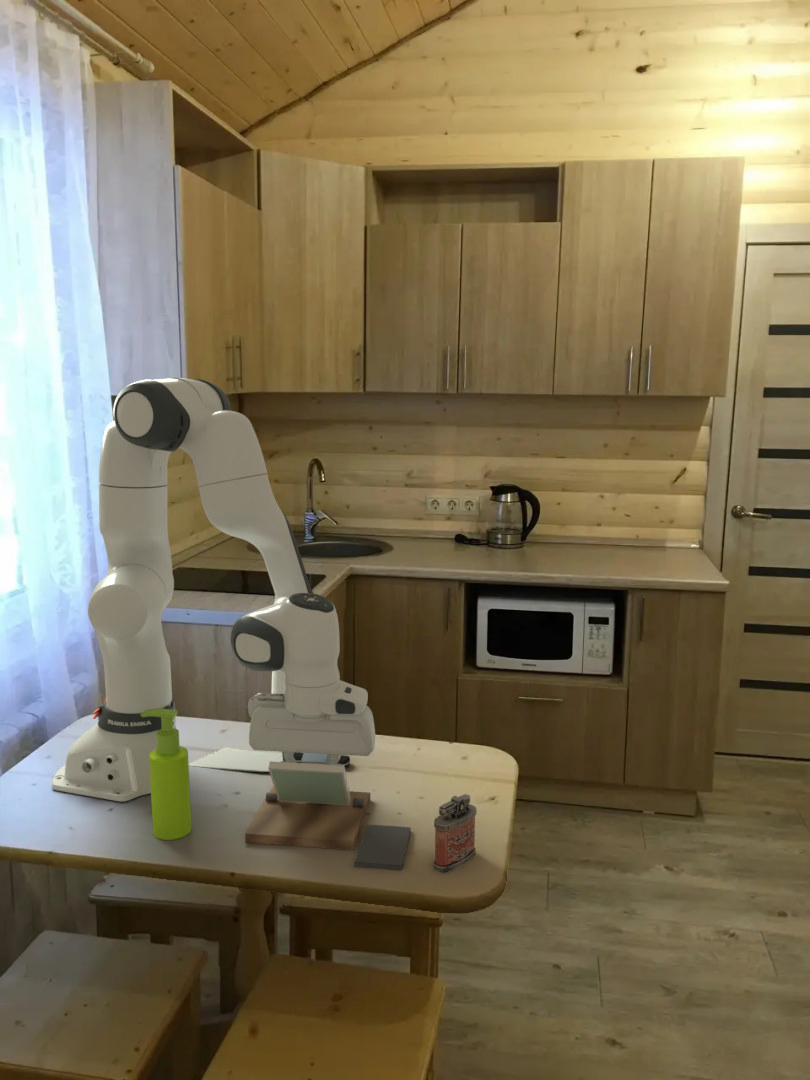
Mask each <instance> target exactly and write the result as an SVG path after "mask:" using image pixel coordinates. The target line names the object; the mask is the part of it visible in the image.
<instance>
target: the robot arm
mask: <svg viewBox="0 0 810 1080" xmlns="http://www.w3.org/2000/svg"><path fill="white" fill-rule="evenodd" d="M112 409H113V410H112V414H113V415H112V416H113V421H112V422H110V423H109V424H108V425H107V426H106V427H105V430H104V433H103V437H102V441H101V442H102V443H101V448H100V454H99V455H100V457H99V464H98V465H99V466H98V468H99V469H98V509H99V510H98V514H99V515H98V517H99V519H98V520H99V522H98V523H99V524H98V525H99V528H98V529H99V532H100V535H101V536H102V538H103V542H104V547H105V552H106V557H107V564H108V565H107V568H108V569H107V573H106V576H105V577H104V578H102V579H101V580H100V581H99V582H98V583H97V584H96V586H95V587H94V588H93V591H92V593H91V596H90V599H89V603H88V607H87V615H88V618H89V623H90V624H91V626H92V627H93V629H95V635H96V638H97V642H98V646H99V649H100V653H101V657H102V662H103V671H104V685H105V686H104V687H105V698H104V700H103V703H102V704H99V706H97V709H96V710H94V712H92V715H93V717H92V719H93V720H95V719H97V720H98V721H97V723H96V724H94V725H93V726H92V727H90V729H88V730H87V731H86V732H84V733H83V734H82V735H81V736H80V737H78V738H77V739H76V740H75V741H73V743H72V744H71V746H70V747H69V750H68V752H67V753H66V757H65V764H64V765H63V766H62V767H60V768H59V770H58V771H57V772H56V773H55V774H54V776H53V778H52V781H51V787H52V790H54V791H59V792H65V793H70V794H76V795H82V796H86V797H93V798H98V799H103V800H104V799H105V800H110V801H114V802H122V803H123V802H127V801H131V800H133V799H135V798H138V797H141V796H144V795H149V794H150V795H151V782H150V763H149V754H150V753H151V752H152V751H153V750H155V749H157V736H156V734H157V732H158V731H159V730H160V729H162V723H161V717H154V716H148V717H142V716H141V715H140V714H142V713H143V712H144V711H145V710H149V709H156V708H162V709H170V710H176V705H175V698H174V696H173V693H172V691H173V690H172V672H171V671H172V670H171V669H172V668H171V657H170V653H169V652H168V650H167V646H166V642H165V636H164V632H163V625H162V624H163V623H162V617H163V612H164V610H165V609H166V608H167V606H168V605H169V603H170V602H171V600H172V598H173V594H174V590H175V579H174V574H173V562H172V553H171V545H170V540H169V530H168V526H169V525H168V461H169V457H170V455H171V453H173V452H176V451H177V450H178V449H180V450H182V451H184V452H185V453H187V455H188V456H189V457H190V459H191V461H192V463H193V466H194V470H195V474H196V475H195V476H196V480H197V485H198V491H199V496H200V500H201V505H202V508H203V510H204V511H203V512H204V513H205V516H206V517H207V519H208V521H209V522H210V523H211V525H212V526H213V527H214V528H216V530H219V531H220V532H222V533H224V534H225V535H228V536H231V537H234V538H237V539H242V540H244V541H246V542H248V543H250V544H251V545H252V546H254V547H255V548H256V549H257V550H258V551H259V552H260V554H261V556H262V558H263V560H264V564H265V567H266V570H267V573H268V576H269V580H270V583H271V586H272V588H273V591H274V602H273V604H271V605H268V606H265V607H262V608H259V609H256V610H254V611H251V612H249V613H247V614H245V615H243V616H241V617H239V618H238V619H237V620H236V621H235V622H234V624H233V626H232V627H231V631H230V646H231V650H232V653H233V656H234V658H235V659H236V660H237V661H238V663H239V664H240V665H241V666H243V667H244V668H245V669H248V670H250V671H253V672H272V671H277V670H280V671H282V672H283V674H284V694H272V693H266V692H259V693H256V695H253V696H252V697H250V698H249V700H248V703H247V705H248V706H247V709H248V710H247V711H248V715H249V717H250V718H251V719H250V725H249V734H248V745H249V747H251V749H253V750H252V751H259V752H278V753H279V752H280V753H281V752H282V753H283V752H284V759H285V760H286V762H289V763H297V762H296V760H295V758H294V757H293V754H294V752H298V753H318V754H331V760H333V761H332V763H331V764H326V765H337V763H338V761H339V759H340V757H341V755H345V756H357V757H359V756H360V757H368V756H370V755H371V754H372V753H373V751H374V750H375V745H376V729H375V722H374V721H375V719H374V716H373V712H372V710H371V708H370V707H369V706H368V705H367V704H368V697H369V696H368V695H369V694H368V691H367V690H366V689H365V688H363V687H360V686H358V685H357V686H356V685H354V684H351V683H348V682H346V681H343V680H342V679H340V678H341V677H340V675H341V674H340V671H339V667H338V658H339V655H340V651H341V650H340V642H341V641H340V625H339V624H340V623H339V618H338V617H339V616H338V613H337V609H336V607H335V605H334V602H332V601H331V600H330V599H329V598H327V597H325V596H323V595H320V594H318V593H314V592H313V589H312V588H311V584H310V582H309V579H308V575H307V573H306V568H305V565H304V563H303V560H302V556H301V553H300V550H299V546H298V543H297V540H296V538H295V535H294V532H293V529H292V526H291V524H290V522H289V519H288V517H287V516H286V514H285V513H284V511H283V510H282V509H281V508H280V505H278V504H279V503H278V502H277V501H276V498H275V496H274V495H275V494H274V493H273V490H272V486H271V483H270V479H269V474H268V469H267V466H266V462H265V458H264V455H263V451H262V449H261V445H260V441H259V439H258V437H257V434H256V431H255V429H254V427H253V425H252V422H251V420H250V419H249V418H248V417H247V416H246V415H245V414H242V413H240V412H238V411H233V410H232V407H231V402H230V400H229V397H228V395H227V394H226V393H225V391H223V389H221V388H220V386H218V385H216V384H214V383H213V382H211V381H207V380H204V379H200V378H199V379H198V378H197V379H191V378H185V377H168V378H163V379H162V378H160V379H143V380H142V379H141V380H138V381H135V382H132V383H130V384H128V385H126V386H125V387H124V388H122V389H121V390H120V392H119V393H118V394H117V396H116V398H115V399H114V403H113V408H112ZM173 728H175V729H177V715H176V716H175V717H174V718H173Z"/></svg>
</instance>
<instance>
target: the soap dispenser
mask: <svg viewBox="0 0 810 1080" xmlns="http://www.w3.org/2000/svg"><path fill="white" fill-rule="evenodd" d="M178 714H179V713H178V710H177V709H175V710H170V709H162V708H156V709H149V710H145V711H144V712H143V713H142V714H140V715H141V716H142V717H148V716H154V717H161V723H162V729H160V730H159V731H158V732H157V734H156V736H157V749H155V750H153V751H152V752H151V753H150V754H149V763H150V782H151V793H150V796H151V800H150V801H151V814H152V818H151V819H152V832H153V833H152V834H153V837H155V838H156V839H158V840H164V841H172V840H178V839H181V838H184V837H186V836H187V835H188V834H190V833H191V831H192V810H191V790H190V785H191V784H190V766H189V763H190V762H189V750H188V749H187V748H186V747H184V746H181V745H180V730H178V728H176V729H175V728H173V718H174V717H175V716H176V717H177V715H178Z"/></svg>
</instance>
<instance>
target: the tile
mask: <svg viewBox="0 0 810 1080" xmlns="http://www.w3.org/2000/svg"><path fill="white" fill-rule="evenodd" d="M268 769H269V772H268V773H269V775H270V778H271V781H272V784H273V786H274V788H275V791H276V795H277V798H278V801H288V802H303V803H319V804H334V805H350V802H351V796H350V791H351V790H350V787H349V783H348V777H347V772H346V771H347V770H346V767H345V766H340V765H323V764H306V763H289V762H272V761H270V763H269V767H268Z"/></svg>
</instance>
